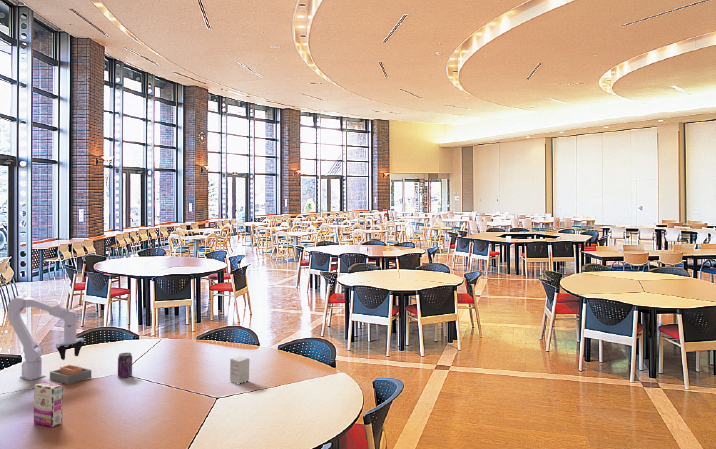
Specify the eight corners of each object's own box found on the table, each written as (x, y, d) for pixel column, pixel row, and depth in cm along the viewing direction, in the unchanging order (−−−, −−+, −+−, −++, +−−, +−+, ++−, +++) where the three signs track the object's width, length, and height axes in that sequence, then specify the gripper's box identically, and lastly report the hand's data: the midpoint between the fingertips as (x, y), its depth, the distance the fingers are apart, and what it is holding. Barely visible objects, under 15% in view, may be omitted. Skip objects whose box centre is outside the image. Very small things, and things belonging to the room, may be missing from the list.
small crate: (60, 376, 270) (60, 367, 270) (69, 373, 275) (70, 364, 275) (72, 379, 266) (72, 370, 266) (81, 377, 271) (82, 367, 271)
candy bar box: (63, 423, 215) (63, 384, 215) (52, 428, 211) (52, 388, 210) (44, 418, 219) (44, 381, 219) (33, 423, 215) (33, 384, 214)
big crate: (49, 379, 268) (49, 371, 268) (73, 372, 280) (73, 365, 280) (68, 384, 261) (68, 376, 261) (91, 377, 273) (91, 369, 273)
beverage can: (126, 378, 272) (126, 356, 272) (114, 377, 274) (115, 355, 273) (134, 374, 279) (135, 352, 279) (123, 373, 281) (123, 351, 280)
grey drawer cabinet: (240, 378, 278) (240, 355, 278) (249, 381, 274) (249, 358, 273) (229, 382, 272) (229, 358, 272) (238, 385, 268) (239, 361, 267)
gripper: (61, 336, 267) (61, 362, 267) (87, 331, 280) (87, 355, 280) (53, 334, 270) (53, 360, 270) (79, 329, 283) (78, 353, 283)
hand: (69, 357), depth 275 cm, fingers open, 7 cm apart
